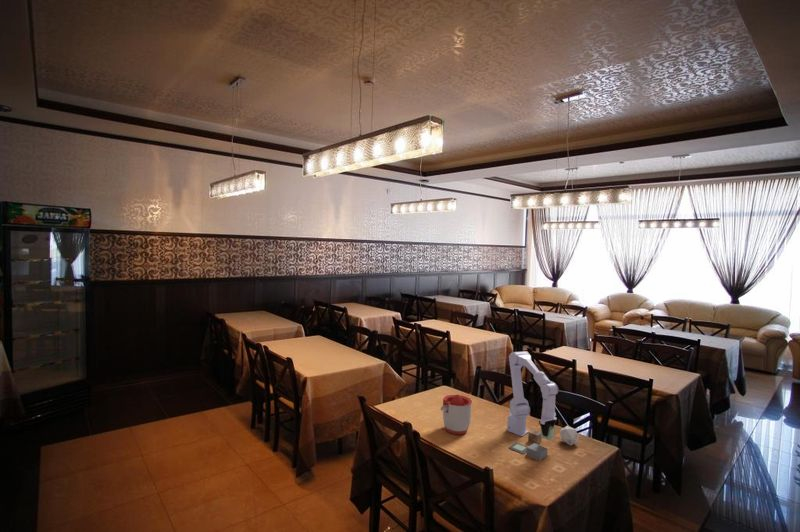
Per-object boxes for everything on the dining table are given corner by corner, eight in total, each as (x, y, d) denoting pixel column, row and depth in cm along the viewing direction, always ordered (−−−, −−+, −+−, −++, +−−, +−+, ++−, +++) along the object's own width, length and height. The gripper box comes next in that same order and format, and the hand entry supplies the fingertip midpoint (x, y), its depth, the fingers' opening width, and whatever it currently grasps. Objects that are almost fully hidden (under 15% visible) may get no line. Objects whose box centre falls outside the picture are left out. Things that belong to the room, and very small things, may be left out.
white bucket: (434, 426, 219) (435, 391, 218) (461, 422, 225) (463, 388, 224) (447, 439, 204) (448, 401, 203) (476, 434, 210) (477, 398, 210)
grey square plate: (508, 448, 197) (508, 447, 197) (515, 443, 203) (516, 441, 203) (523, 454, 191) (523, 453, 191) (530, 448, 197) (530, 447, 197)
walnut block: (528, 441, 205) (528, 432, 205) (532, 438, 209) (532, 429, 208) (537, 445, 201) (537, 435, 201) (541, 441, 205) (541, 432, 205)
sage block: (540, 436, 195) (540, 427, 195) (544, 433, 199) (545, 424, 199) (550, 440, 192) (550, 430, 192) (554, 437, 196) (554, 427, 195)
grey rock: (562, 447, 201) (575, 435, 197) (552, 432, 208) (565, 420, 205) (572, 450, 205) (585, 438, 201) (562, 435, 212) (575, 423, 208)
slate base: (526, 455, 191) (526, 447, 191) (533, 450, 196) (534, 443, 196) (539, 461, 186) (540, 453, 186) (547, 456, 191) (547, 448, 190)
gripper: (550, 413, 187) (549, 441, 187) (562, 405, 198) (560, 432, 198) (536, 409, 192) (535, 436, 192) (548, 401, 202) (547, 427, 203)
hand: (547, 434), depth 195 cm, fingers closed on sage block, 5 cm apart
